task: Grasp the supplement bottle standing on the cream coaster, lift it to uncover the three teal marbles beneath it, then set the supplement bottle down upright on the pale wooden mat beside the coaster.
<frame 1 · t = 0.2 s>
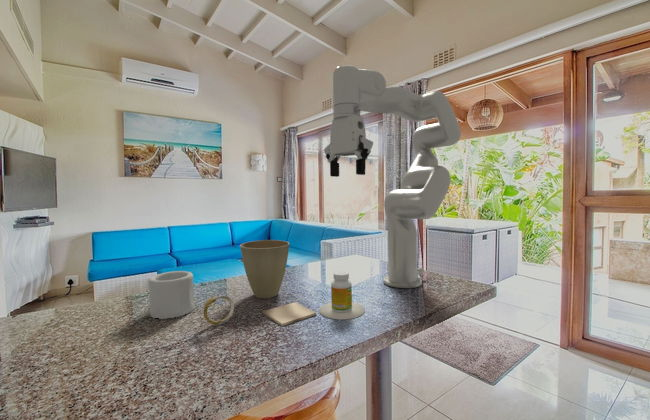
hand: (347, 175, 86), 36 cm above the granite counter, tool pointing down, fingers open, 9 cm apart
mug: (171, 311, 83), on the granite counter
plant pot: (266, 295, 95), on the granite counter
supplement bottle: (341, 309, 81), resting on coaster
ring: (219, 325, 74), on the granite counter
wooden mat: (289, 314, 79), on the granite counter
coaster: (341, 310, 81), on the granite counter
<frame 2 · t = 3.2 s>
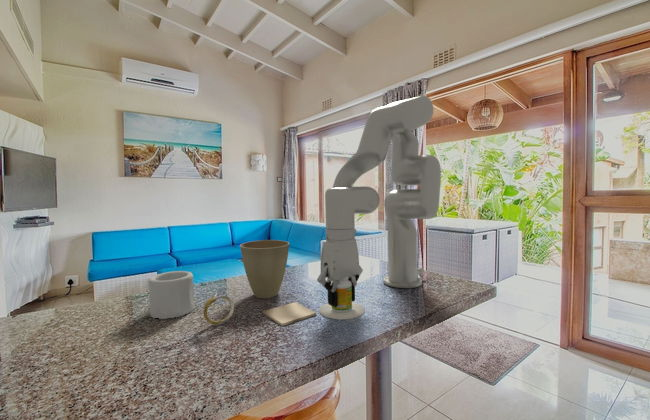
hand: (341, 302, 81), 2 cm above the granite counter, tool pointing down, fingers closed on supplement bottle, 5 cm apart
supplement bottle: (341, 309, 81), resting on coaster, touching gripper
everything else where it was.
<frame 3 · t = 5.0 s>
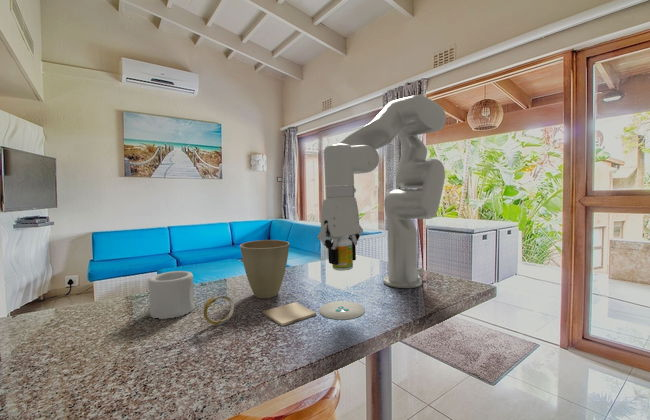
hand: (342, 260, 81), 13 cm above the granite counter, tool pointing down, fingers closed on supplement bottle, 5 cm apart
supplement bottle: (342, 269, 81), point 11 cm above the granite counter, touching gripper
everything else where it was.
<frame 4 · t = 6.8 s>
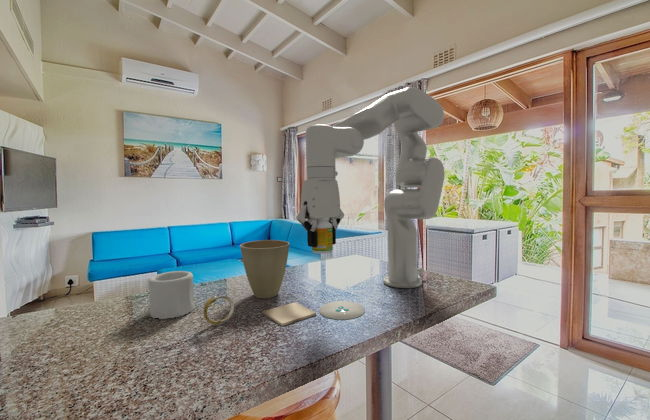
hand: (321, 244, 79), 18 cm above the granite counter, tool pointing down, fingers closed on supplement bottle, 5 cm apart
supplement bottle: (322, 252, 79), point 16 cm above the granite counter, touching gripper
everything else where it was.
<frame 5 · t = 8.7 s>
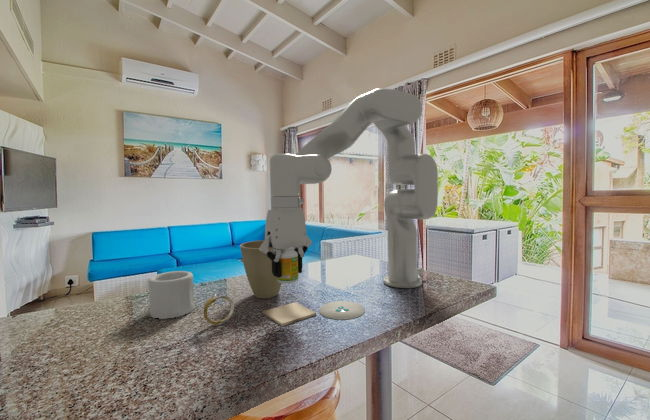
hand: (287, 273, 78), 11 cm above the granite counter, tool pointing down, fingers closed on supplement bottle, 5 cm apart
supplement bottle: (287, 281, 78), point 9 cm above the granite counter, touching gripper
everything else where it was.
when the fingers open (4 cm above the granite counter, at t = 10.3 s): supplement bottle drops 1 cm, resting on wooden mat.
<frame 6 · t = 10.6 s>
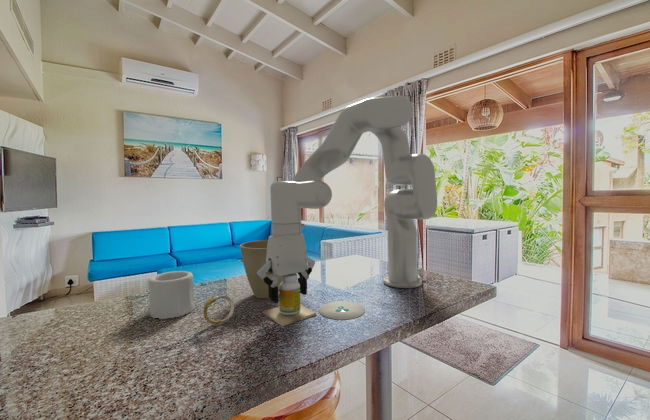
hand: (288, 296, 79), 5 cm above the granite counter, tool pointing down, fingers open, 8 cm apart
supplement bottle: (290, 312, 79), resting on wooden mat
everything else where it was.
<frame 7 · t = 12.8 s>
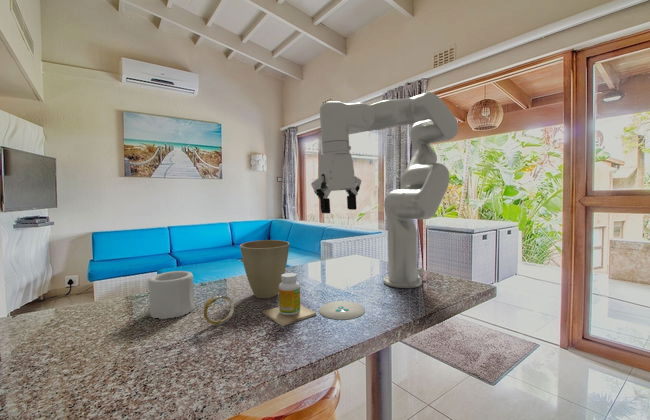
hand: (339, 211, 85), 26 cm above the granite counter, tool pointing down, fingers open, 9 cm apart
nothing on the granite counter moved.
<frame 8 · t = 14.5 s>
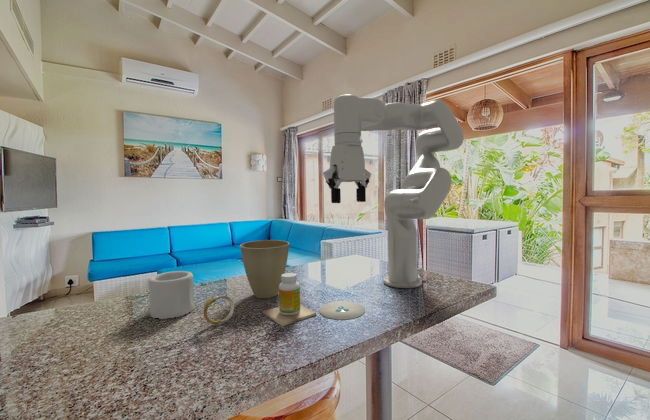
hand: (348, 202, 87), 28 cm above the granite counter, tool pointing down, fingers open, 9 cm apart
nothing on the granite counter moved.
at the end: supplement bottle 0.3 cm off-centre on the wooden mat, point 0.4 cm above the wooden mat's base; supplement bottle tilted 0°; the gripper is holding nothing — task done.
